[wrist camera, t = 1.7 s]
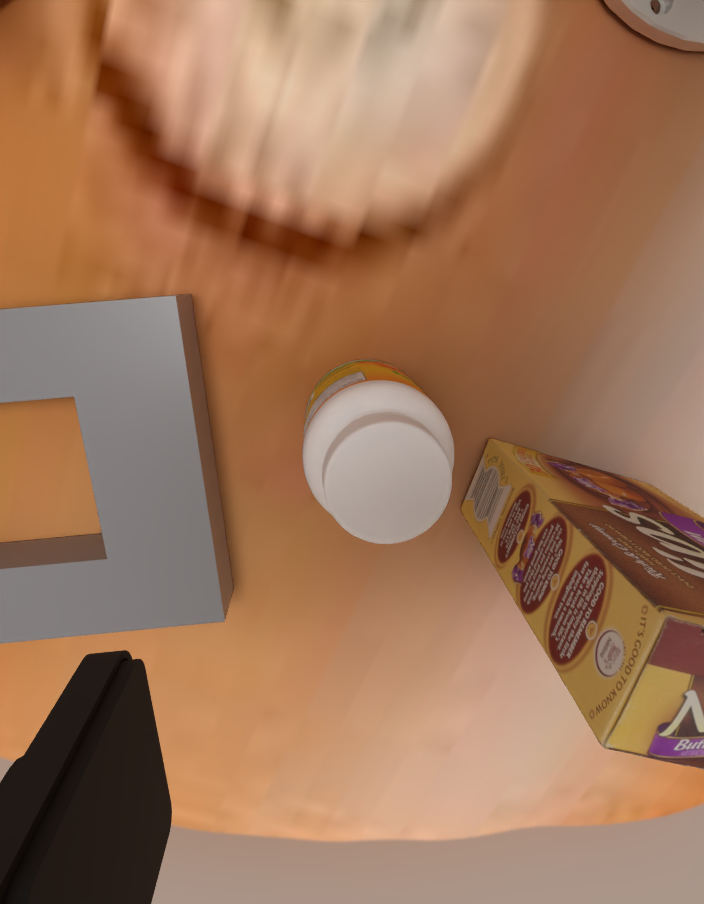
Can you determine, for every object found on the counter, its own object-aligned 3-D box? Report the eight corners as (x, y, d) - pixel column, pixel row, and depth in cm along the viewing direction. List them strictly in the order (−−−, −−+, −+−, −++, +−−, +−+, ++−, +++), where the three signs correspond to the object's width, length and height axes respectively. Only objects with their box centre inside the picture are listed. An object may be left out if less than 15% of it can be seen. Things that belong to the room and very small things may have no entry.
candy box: (455, 518, 29) (594, 754, 15) (485, 435, 28) (667, 600, 14) (619, 562, 31) (900, 821, 16) (654, 484, 30) (990, 684, 15)
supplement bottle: (444, 429, 28) (509, 502, 19) (350, 494, 29) (367, 597, 19) (379, 333, 27) (413, 361, 17) (281, 403, 27) (264, 467, 18)
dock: (191, 293, 26) (173, 295, 23) (233, 588, 30) (223, 626, 26) (-195, 324, 25) (-270, 330, 22) (-101, 620, 29) (-153, 663, 26)
